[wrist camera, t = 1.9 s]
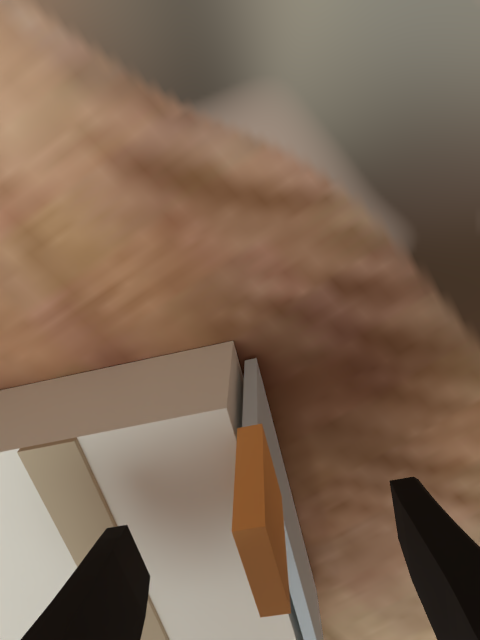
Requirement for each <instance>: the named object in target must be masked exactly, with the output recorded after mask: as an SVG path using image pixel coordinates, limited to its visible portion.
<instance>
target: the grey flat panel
mask: <svg viewBox="0 0 480 640" xmlns="http://www.w3.org/2000/svg"><path fill="white" fill-rule="evenodd" d="M232 534H233V537H234V540H235V543H236V546H237V549H238V552H239V555H240V558H241V561H242V564H243V567H244V570H245V573H246V576H247V579H248V582H249V585H250V588H251V591H252V594H253V597H254V600H255V603H256V606H257V609H258V612H259V615H260V618H261V617H268V616H275V615H283V614H290V613H291V605H290V594H291V598H292V601H293V605H294V608H295V611H296V615H297V618H298V622H299V625H300V629H301V632H302V636H303V639H304V640H324V639H323V632H322V625H321V618H320V610H319V603H318V596H317V590H316V586H315V582H314V579H313V575H312V571H311V567H310V563H309V559H308V555H307V551H306V548H305V544H304V540H303V536H302V532H301V528H300V524H299V521H298V517H297V513H296V509H295V505H294V501H293V497H292V493H291V490H290V486H289V482H288V478H287V474H286V470H285V466H284V463H283V459H282V455H281V451H280V447H279V443H278V439H277V435H276V432H275V428H274V424H273V420H272V416H271V412H270V408H269V405H268V401H267V397H266V393H265V389H264V385H263V381H262V377H261V374H260V370H259V366H258V362H257V358H254V359H249V360H245V364H244V389H243V414H242V427H241V428H237V444H236V462H235V480H234V498H233V516H232ZM289 591H290V593H289Z"/></svg>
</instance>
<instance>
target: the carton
mask: <svg viewBox="0 0 480 640" xmlns="http://www.w3.org/2000/svg"><path fill="white" fill-rule="evenodd" d="M243 389H244V378H243V374H242V371H241V367H240V363H239V360H238V356H237V352H236V349H235V345H234V342H233V341H229V342H225V343H220V344H215V345H211V346H206V347H201V348H197V349H192V350H187V351H182V352H178V353H173V354H168V355H164V356H159V357H154V358H150V359H145V360H140V361H136V362H131V363H126V364H121V365H117V366H112V367H107V368H103V369H98V370H93V371H89V372H84V373H79V374H74V375H70V376H65V377H60V378H56V379H51V380H46V381H42V382H37V383H32V384H27V385H23V386H18V387H13V388H9V389H4V390H0V640H21V638H22V637H23V636H24V635H25V634H26V632H27V631H28V630H29V629H30V627H31V626H32V625H33V624H34V622H35V621H36V620H37V619H38V618H39V616H40V615H41V614H42V613H43V611H44V610H45V609H46V608H47V606H48V605H49V604H50V603H51V602H52V600H53V599H54V598H55V596H56V595H57V594H58V592H59V591H60V590H61V588H62V587H63V586H64V584H65V583H66V582H67V580H68V579H69V578H70V576H71V575H72V574H73V573H74V571H75V570H76V569H77V567H78V566H79V564H80V563H81V562H82V560H83V559H84V558H85V556H86V555H87V554H88V552H89V551H90V550H91V548H92V547H93V545H94V544H95V543H96V541H97V540H98V539H99V537H100V536H101V535H102V534H103V532H104V531H105V530H106V528H110V527H116V526H122V525H128V528H129V530H130V532H131V534H132V537H133V539H134V541H135V543H136V545H137V548H138V550H139V552H140V554H141V557H142V559H143V561H144V563H145V565H146V568H147V570H148V572H149V574H150V584H149V593H148V602H147V609H146V617H145V622H144V626H143V631H142V635H141V639H140V640H304V639H303V636H302V632H301V629H300V625H299V622H298V618H297V615H296V611H295V608H294V605H293V601H292V598H291V594H290V605H291V613H290V614H283V615H275V616H268V617H261V618H260V615H259V612H258V609H257V606H256V603H255V600H254V597H253V594H252V591H251V588H250V585H249V582H248V579H247V576H246V573H245V570H244V567H243V564H242V561H241V558H240V555H239V552H238V549H237V546H236V543H235V540H234V537H233V534H232V516H233V498H234V480H235V462H236V444H237V428H241V427H242V414H243ZM289 593H290V591H289Z"/></svg>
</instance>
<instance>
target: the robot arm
mask: <svg viewBox="0 0 480 640" xmlns="http://www.w3.org/2000/svg"><path fill="white" fill-rule="evenodd" d="M390 486H391V493H392V499H393V506H394V512H395V519H396V526H397V532H398V539H399V542H400V545H401V548H402V551H403V554H404V557H405V561H406V564H407V567H408V570H409V573H410V576H411V579H412V582H413V584H414V586H415V589H416V591H417V593H418V596H419V598H420V600H421V603H422V605H423V607H424V610H425V612H426V614H427V617H428V619H429V621H430V624H431V626H432V628H433V630H434V633H435V635H436V637H437V640H480V547H479V546H478V545H477V544H476V543H475V542H474V541H473V540H472V539H471V538H470V537H469V536H468V535H467V534H466V533H465V532H464V531H463V530H462V529H461V528H460V527H459V526H458V525H457V524H456V523H455V522H454V520H453V519H452V518H451V517H450V516H449V515H448V514H447V513H446V512H445V511H444V510H443V508H442V507H441V506H440V505H439V504H438V503H437V502H436V501H435V499H434V498H433V497H432V496H431V495H430V494H429V492H428V491H427V490H426V489H425V487H424V486H423V485H422V484H421V482H420V481H419V480H418V479H417V478H415V477H410V478H404V479H398V480H392V481H390ZM149 584H150V574H149V572H148V570H147V568H146V565H145V563H144V561H143V559H142V557H141V554H140V552H139V550H138V548H137V545H136V543H135V541H134V539H133V537H132V534H131V532H130V530H129V528H128V525H122V526H116V527H110V528H106V530H105V531H104V532H103V534H102V535H101V536H100V537H99V539H98V540H97V541H96V543H95V544H94V545H93V547H92V548H91V550H90V551H89V552H88V554H87V555H86V556H85V558H84V559H83V560H82V562H81V563H80V564H79V566H78V567H77V569H76V570H75V571H74V573H73V574H72V575H71V576H70V578H69V579H68V580H67V582H66V583H65V584H64V586H63V587H62V588H61V590H60V591H59V592H58V594H57V595H56V596H55V598H54V599H53V600H52V602H51V603H50V604H49V605H48V606H47V608H46V609H45V610H44V611H43V613H42V614H41V615H40V616H39V618H38V619H37V620H36V621H35V622H34V624H33V625H32V626H31V627H30V629H29V630H28V631H27V632H26V634H25V635H24V636H23V637H22V638H21V640H140V639H141V635H142V631H143V626H144V622H145V617H146V609H147V602H148V593H149Z"/></svg>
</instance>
